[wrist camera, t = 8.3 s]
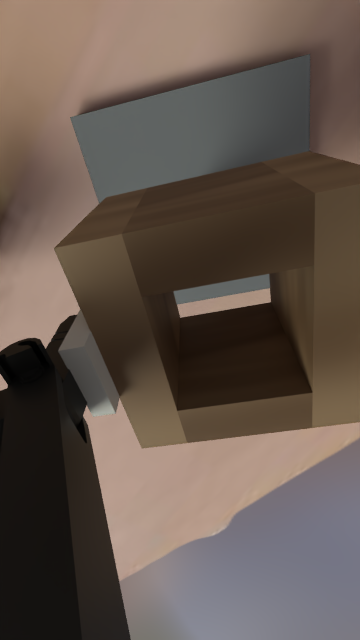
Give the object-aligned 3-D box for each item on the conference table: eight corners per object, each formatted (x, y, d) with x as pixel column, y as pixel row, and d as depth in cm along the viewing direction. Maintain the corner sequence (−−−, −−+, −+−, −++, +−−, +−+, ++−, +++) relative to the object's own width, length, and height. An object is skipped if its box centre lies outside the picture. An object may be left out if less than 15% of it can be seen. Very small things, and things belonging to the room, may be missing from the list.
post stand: (75, 117, 20) (8, 120, 12) (303, 57, 18) (389, 17, 11) (137, 304, 28) (119, 379, 20) (303, 274, 26) (354, 343, 18)
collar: (105, 197, 13) (53, 248, 8) (308, 150, 12) (399, 175, 7) (155, 350, 17) (141, 448, 12) (308, 325, 16) (364, 421, 11)
